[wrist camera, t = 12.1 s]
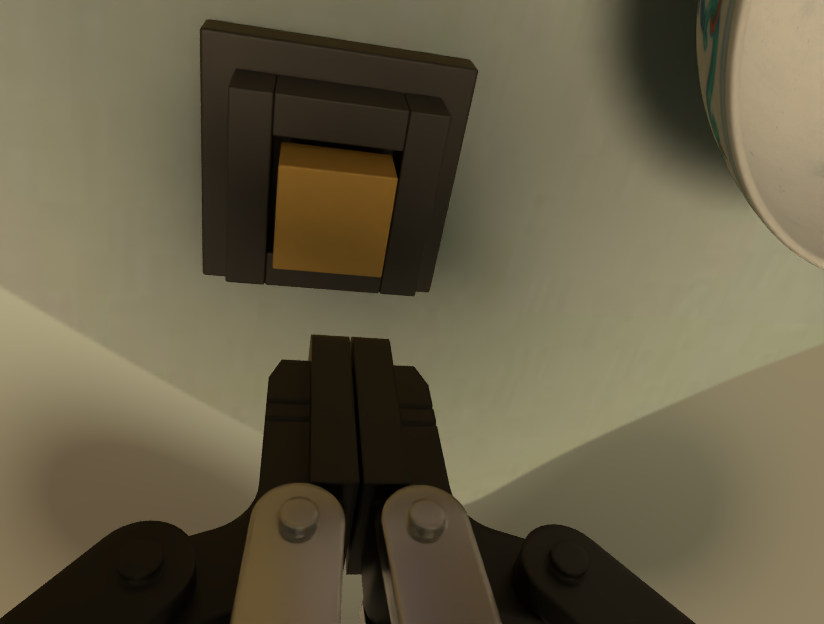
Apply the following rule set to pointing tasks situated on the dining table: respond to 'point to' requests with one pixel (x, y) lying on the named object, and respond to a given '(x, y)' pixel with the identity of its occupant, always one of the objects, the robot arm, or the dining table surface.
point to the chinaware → (769, 109)
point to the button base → (324, 144)
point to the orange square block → (333, 210)
